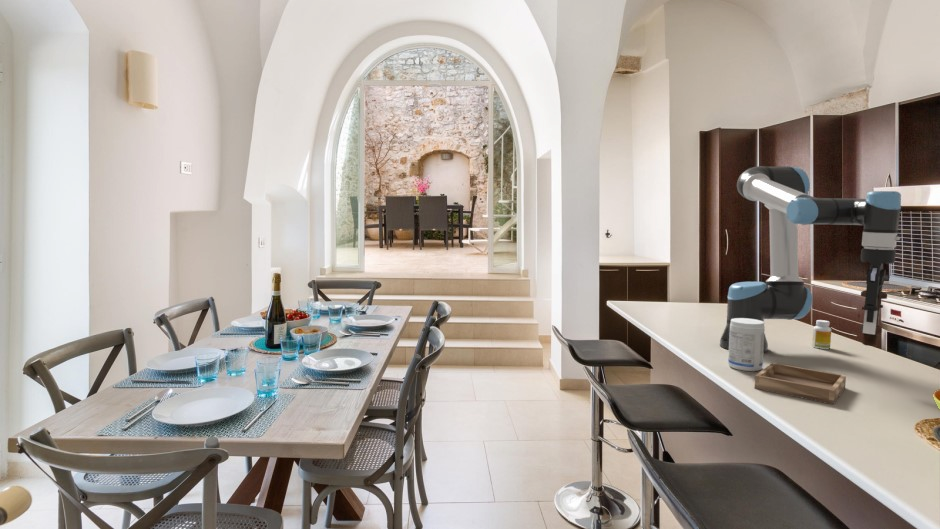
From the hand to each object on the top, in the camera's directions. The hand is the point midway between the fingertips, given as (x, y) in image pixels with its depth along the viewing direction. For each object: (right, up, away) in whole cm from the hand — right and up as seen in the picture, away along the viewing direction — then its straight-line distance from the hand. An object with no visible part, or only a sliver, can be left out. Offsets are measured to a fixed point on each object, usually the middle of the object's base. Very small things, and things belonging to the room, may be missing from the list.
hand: (870, 331), depth 150 cm
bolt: (0, -4, 0) cm, 4 cm away
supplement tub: (-26, -13, +17) cm, 34 cm away
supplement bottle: (+15, -11, +44) cm, 48 cm away
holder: (-21, -15, -3) cm, 26 cm away
